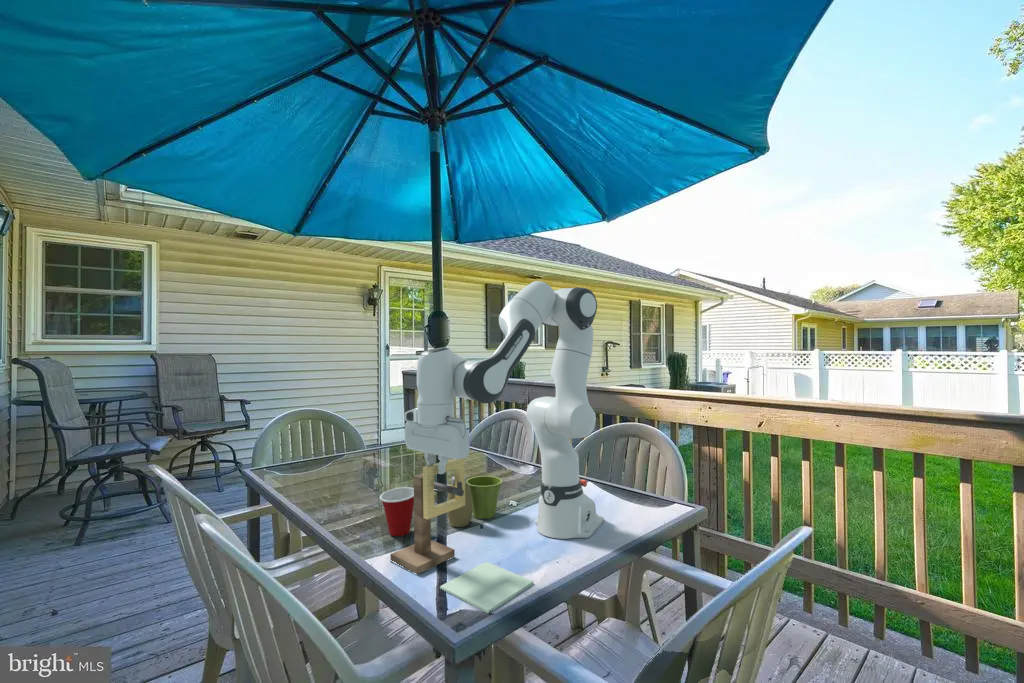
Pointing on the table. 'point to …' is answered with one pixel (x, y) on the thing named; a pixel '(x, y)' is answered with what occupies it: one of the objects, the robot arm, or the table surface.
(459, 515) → the squeeze bottle
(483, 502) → the plant pot
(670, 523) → the table surface
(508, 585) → the sage mat
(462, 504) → the yellow picture frame
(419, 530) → the hook stand
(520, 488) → the table surface
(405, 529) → the plastic cup
